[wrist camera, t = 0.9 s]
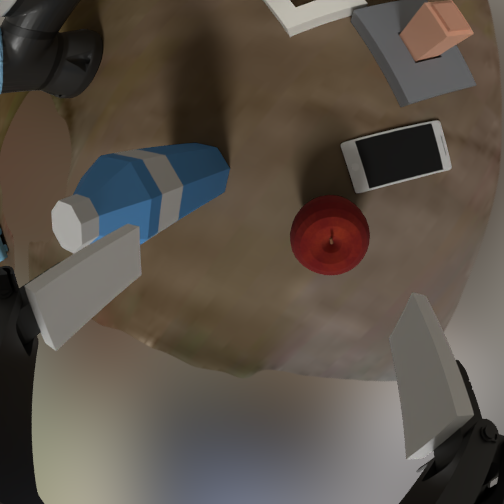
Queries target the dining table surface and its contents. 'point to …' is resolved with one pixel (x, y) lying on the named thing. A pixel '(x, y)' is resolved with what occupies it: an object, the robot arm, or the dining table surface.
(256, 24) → the dining table surface
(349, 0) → the white square frame
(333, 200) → the apple
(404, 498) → the robot arm
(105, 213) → the water bottle
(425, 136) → the smartphone
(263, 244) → the dining table surface
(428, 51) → the plug
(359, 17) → the grey flat block
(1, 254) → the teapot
